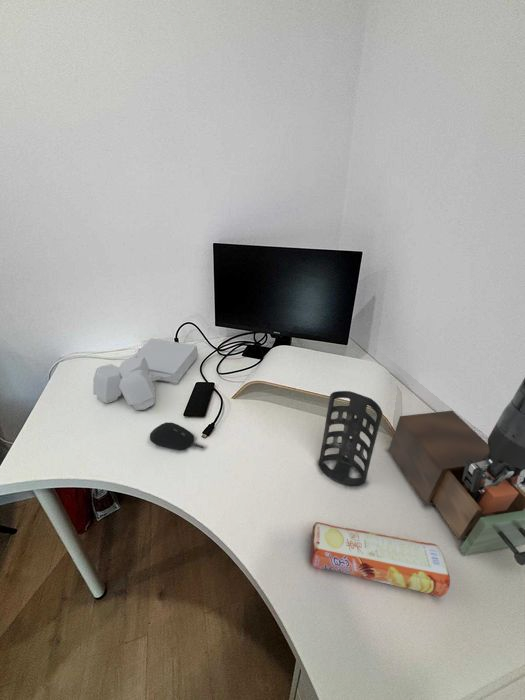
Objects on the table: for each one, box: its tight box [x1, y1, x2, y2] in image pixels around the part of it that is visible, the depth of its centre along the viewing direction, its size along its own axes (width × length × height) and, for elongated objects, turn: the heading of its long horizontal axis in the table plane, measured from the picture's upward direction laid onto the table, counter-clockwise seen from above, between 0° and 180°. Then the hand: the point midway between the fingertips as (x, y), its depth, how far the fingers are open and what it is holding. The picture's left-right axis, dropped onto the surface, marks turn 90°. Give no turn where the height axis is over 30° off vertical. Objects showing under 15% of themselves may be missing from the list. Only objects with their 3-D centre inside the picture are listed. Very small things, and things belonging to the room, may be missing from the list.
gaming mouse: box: [149, 422, 204, 451], centre depth 74 cm, size 6×15×4 cm, turn 72°
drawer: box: [431, 469, 525, 566], centre depth 54 cm, size 18×12×10 cm
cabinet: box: [388, 410, 489, 507], centre depth 65 cm, size 15×14×12 cm
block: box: [463, 471, 519, 514], centre depth 53 cm, size 5×5×5 cm
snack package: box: [309, 521, 451, 597], centre depth 50 cm, size 21×7×7 cm, turn 78°
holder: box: [318, 390, 384, 487], centre depth 64 cm, size 11×8×20 cm
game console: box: [92, 338, 199, 411], centre depth 95 cm, size 20×32×13 cm, turn 164°
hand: (484, 497), depth 54 cm, fingers closed on block, 5 cm apart
